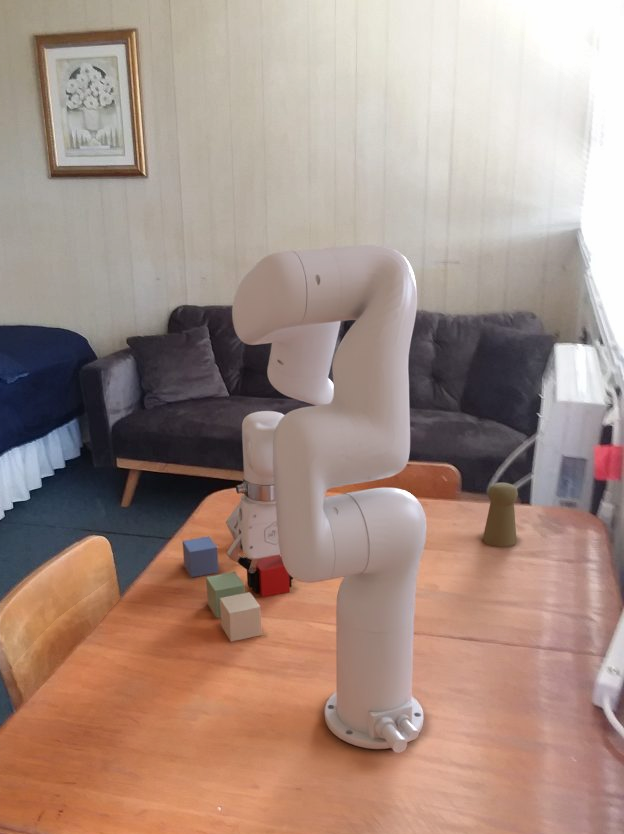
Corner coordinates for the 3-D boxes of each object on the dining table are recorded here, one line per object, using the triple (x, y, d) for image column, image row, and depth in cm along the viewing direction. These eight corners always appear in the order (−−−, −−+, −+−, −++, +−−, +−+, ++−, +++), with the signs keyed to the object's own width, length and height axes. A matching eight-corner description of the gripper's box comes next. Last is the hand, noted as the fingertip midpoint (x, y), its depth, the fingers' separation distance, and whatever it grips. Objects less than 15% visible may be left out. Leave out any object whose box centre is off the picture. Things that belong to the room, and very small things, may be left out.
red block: (289, 592, 141) (289, 565, 139) (261, 597, 140) (260, 570, 138) (279, 579, 146) (278, 553, 144) (252, 584, 144) (250, 558, 142)
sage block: (246, 612, 135) (244, 584, 134) (216, 618, 134) (214, 590, 132) (236, 598, 140) (235, 571, 138) (207, 604, 138) (205, 576, 137)
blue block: (218, 572, 149) (217, 547, 147) (191, 577, 147) (189, 552, 146) (210, 560, 153) (209, 536, 152) (184, 565, 152) (182, 540, 150)
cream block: (261, 635, 129) (260, 606, 127) (230, 642, 127) (229, 613, 126) (251, 619, 133) (249, 591, 131) (221, 626, 132) (219, 597, 130)
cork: (482, 545, 155) (485, 489, 151) (483, 531, 160) (486, 478, 156) (516, 548, 153) (521, 492, 149) (516, 534, 158) (520, 480, 155)
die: (227, 538, 164) (212, 512, 156) (262, 509, 166) (249, 482, 158) (253, 565, 159) (239, 540, 151) (289, 535, 161) (277, 509, 153)
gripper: (224, 504, 131) (229, 607, 137) (325, 487, 135) (325, 587, 142) (210, 487, 137) (216, 586, 144) (307, 472, 142) (308, 568, 148)
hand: (270, 586), depth 143 cm, fingers closed on red block, 5 cm apart
